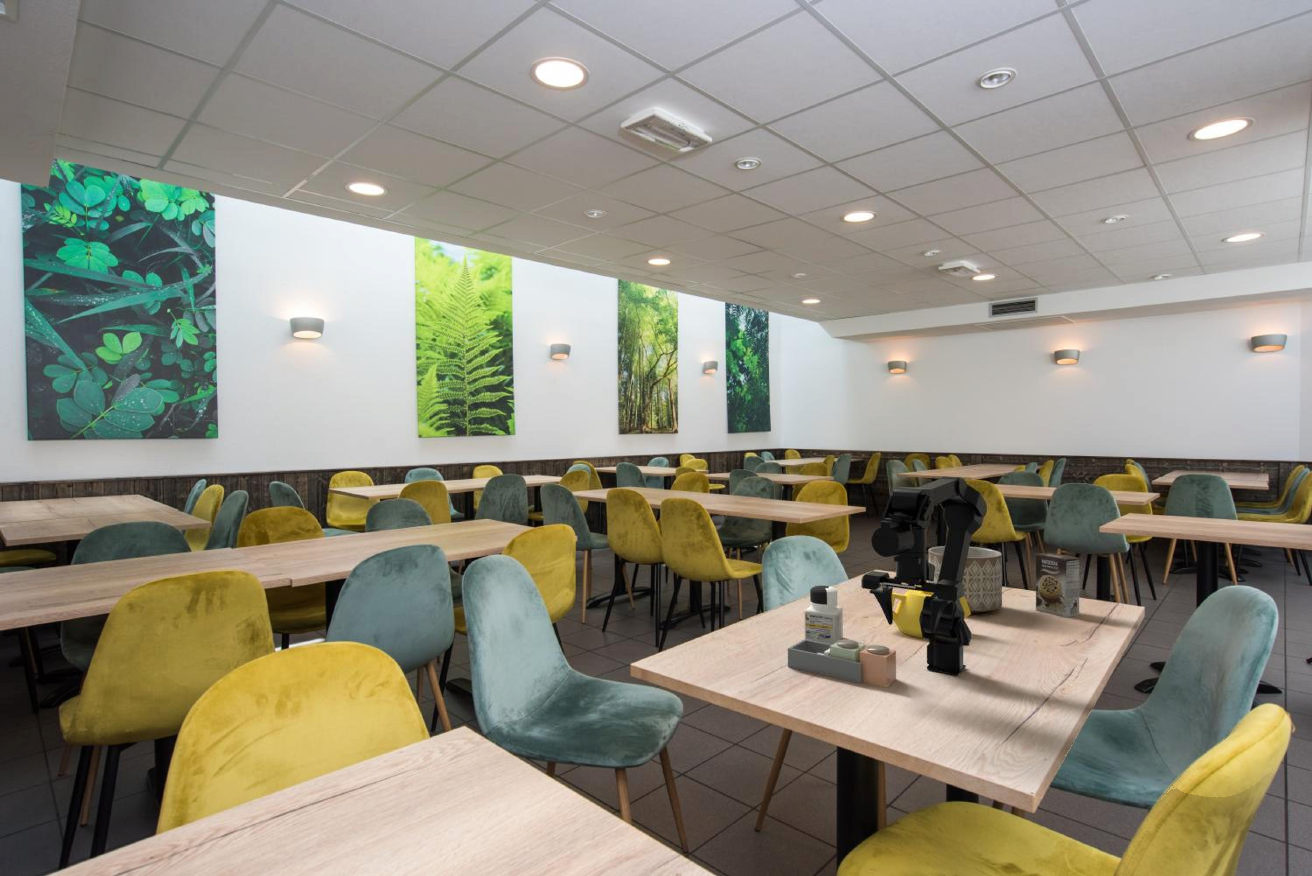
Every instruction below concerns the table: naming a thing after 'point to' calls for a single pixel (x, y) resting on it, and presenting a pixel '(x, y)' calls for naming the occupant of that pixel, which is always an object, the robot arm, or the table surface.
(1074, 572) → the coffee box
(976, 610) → the planter
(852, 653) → the sage jar
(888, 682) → the orange block with dome
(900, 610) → the teapot
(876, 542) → the robot arm
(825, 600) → the container
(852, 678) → the lane
